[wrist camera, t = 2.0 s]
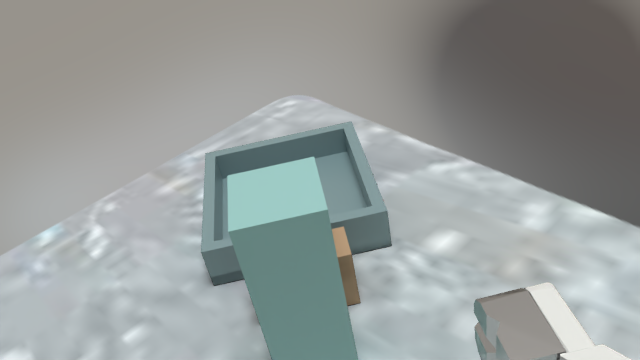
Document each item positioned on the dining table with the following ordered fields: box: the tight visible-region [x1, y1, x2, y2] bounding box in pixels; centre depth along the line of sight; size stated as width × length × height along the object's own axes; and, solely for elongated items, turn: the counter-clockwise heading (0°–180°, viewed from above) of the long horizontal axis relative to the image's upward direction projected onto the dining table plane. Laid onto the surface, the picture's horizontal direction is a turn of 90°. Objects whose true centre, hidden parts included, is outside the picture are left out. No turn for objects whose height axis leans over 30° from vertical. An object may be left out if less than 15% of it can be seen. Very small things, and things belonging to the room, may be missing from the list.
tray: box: [201, 122, 392, 286], centre depth 41 cm, size 12×12×3 cm
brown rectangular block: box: [332, 226, 360, 306], centre depth 34 cm, size 6×2×4 cm, turn 98°
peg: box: [227, 157, 358, 360], centre depth 27 cm, size 4×4×12 cm
